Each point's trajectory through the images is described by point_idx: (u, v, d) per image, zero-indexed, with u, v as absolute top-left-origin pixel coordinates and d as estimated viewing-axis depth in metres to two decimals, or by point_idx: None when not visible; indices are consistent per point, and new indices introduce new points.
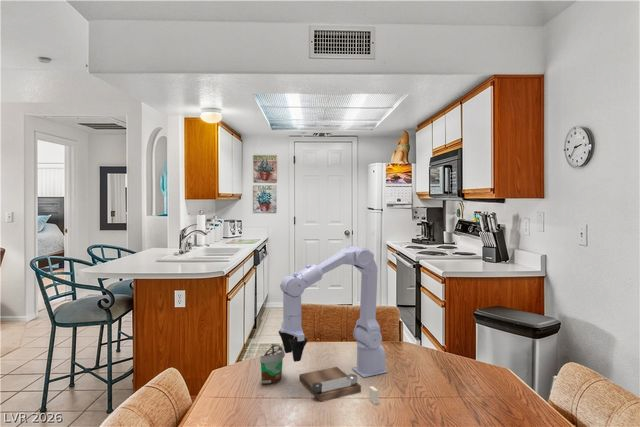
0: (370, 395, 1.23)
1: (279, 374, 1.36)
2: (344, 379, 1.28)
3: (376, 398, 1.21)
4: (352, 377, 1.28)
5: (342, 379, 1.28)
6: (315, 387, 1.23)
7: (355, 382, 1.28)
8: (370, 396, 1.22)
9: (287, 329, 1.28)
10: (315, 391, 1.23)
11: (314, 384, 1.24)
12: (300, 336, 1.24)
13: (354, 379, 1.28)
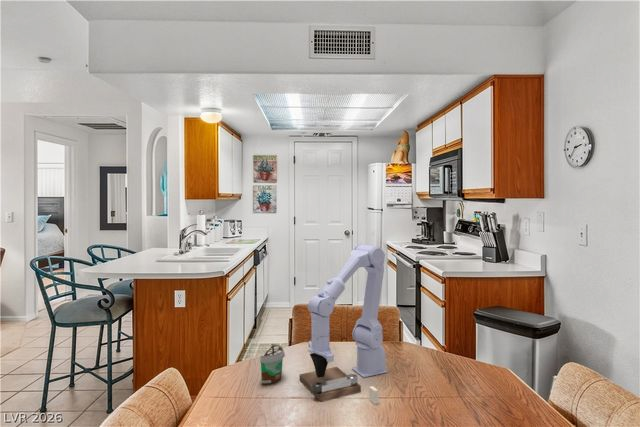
0: (370, 395, 1.23)
1: (279, 374, 1.36)
2: (344, 379, 1.28)
3: (376, 398, 1.21)
4: (352, 377, 1.28)
5: (342, 379, 1.28)
6: (315, 387, 1.23)
7: (355, 382, 1.28)
8: (370, 396, 1.22)
9: (316, 349, 1.28)
10: (315, 391, 1.23)
11: (314, 384, 1.24)
12: (330, 357, 1.24)
13: (354, 379, 1.28)
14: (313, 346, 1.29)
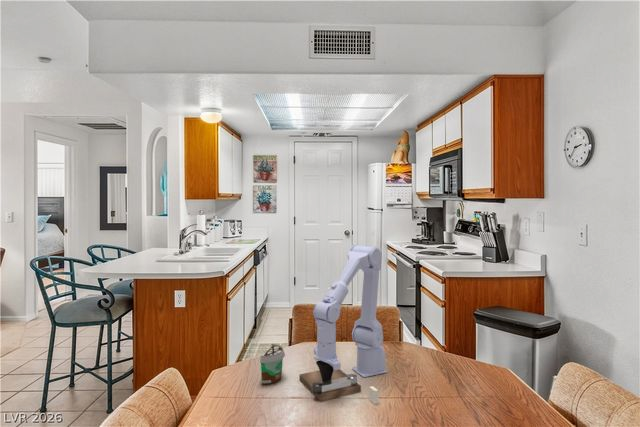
0: (370, 395, 1.23)
1: (279, 374, 1.36)
2: (344, 379, 1.28)
3: (376, 398, 1.21)
4: (352, 377, 1.28)
5: (342, 379, 1.28)
6: (315, 387, 1.23)
7: (355, 382, 1.28)
8: (370, 396, 1.22)
9: (322, 357, 1.25)
10: (315, 391, 1.23)
11: (314, 384, 1.24)
12: (336, 365, 1.20)
13: (354, 379, 1.28)
14: (319, 353, 1.25)
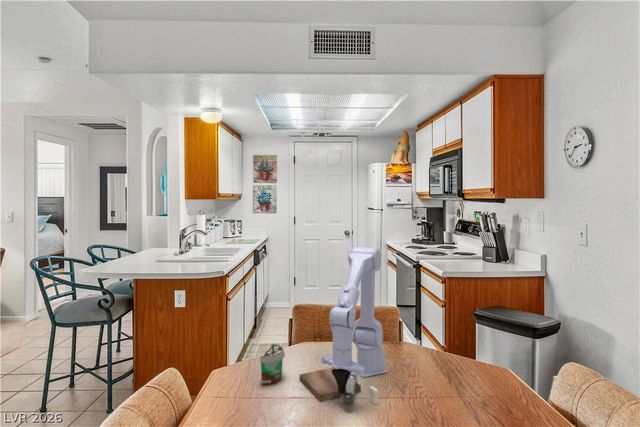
0: (370, 395, 1.23)
1: (279, 374, 1.36)
2: (352, 381, 1.26)
3: (376, 398, 1.21)
4: (354, 376, 1.29)
5: (350, 382, 1.26)
6: (351, 397, 1.16)
7: (356, 380, 1.29)
8: (370, 396, 1.22)
9: (342, 364, 1.19)
10: (351, 402, 1.16)
11: (345, 395, 1.17)
12: (362, 370, 1.17)
13: None
14: (338, 361, 1.19)
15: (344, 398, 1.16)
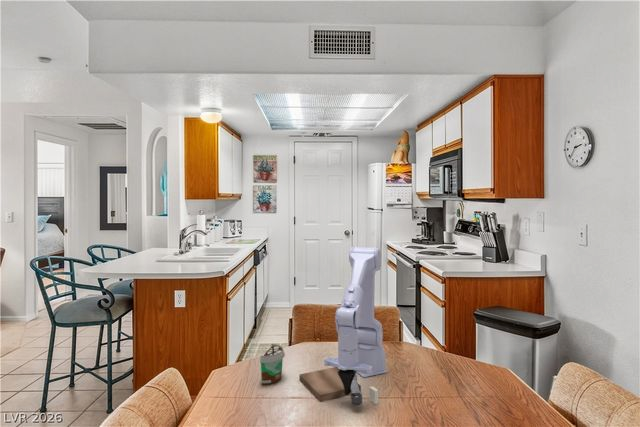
0: (370, 395, 1.23)
1: (279, 374, 1.36)
2: (354, 381, 1.26)
3: (376, 398, 1.21)
4: (354, 376, 1.29)
5: (353, 382, 1.26)
6: (360, 397, 1.16)
7: None
8: (370, 396, 1.22)
9: (349, 365, 1.18)
10: (361, 402, 1.16)
11: (354, 396, 1.17)
12: (370, 369, 1.18)
13: None
14: (346, 362, 1.18)
15: (354, 399, 1.16)
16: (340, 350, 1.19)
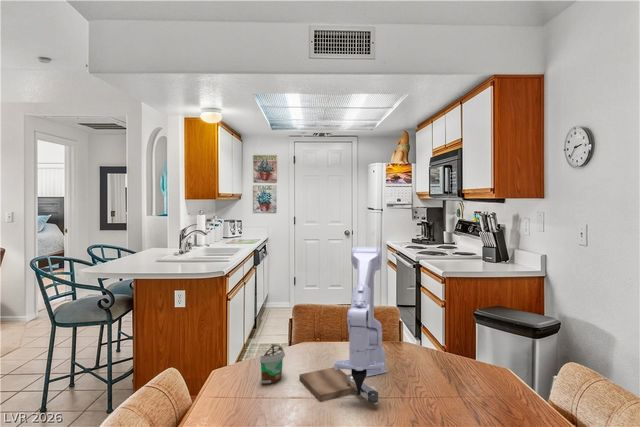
0: None
1: (279, 374, 1.36)
2: None
3: None
4: None
5: None
6: None
7: None
8: None
9: (364, 365, 1.18)
10: None
11: (372, 394, 1.18)
12: (384, 365, 1.20)
13: None
14: (361, 363, 1.18)
15: (372, 397, 1.17)
16: (355, 351, 1.18)
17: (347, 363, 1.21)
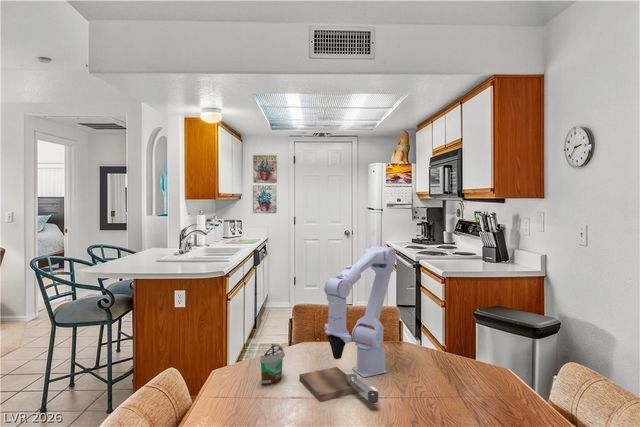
0: None
1: (279, 374, 1.36)
2: (357, 381, 1.27)
3: None
4: (354, 375, 1.29)
5: (357, 381, 1.26)
6: None
7: None
8: None
9: (333, 331, 1.29)
10: None
11: (372, 394, 1.18)
12: (347, 338, 1.24)
13: None
14: (330, 328, 1.29)
15: (372, 397, 1.17)
16: (328, 316, 1.31)
17: None
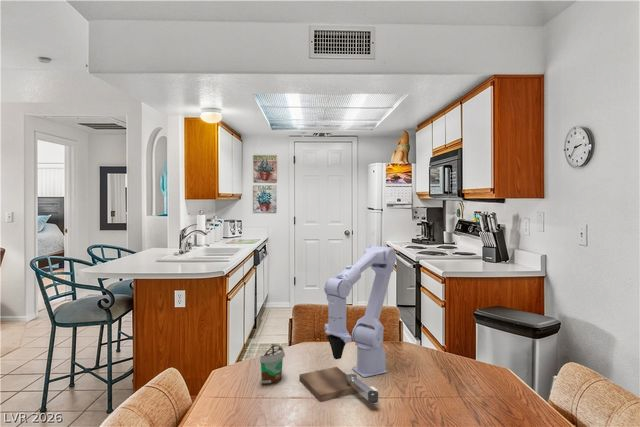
0: None
1: (279, 374, 1.36)
2: (357, 381, 1.27)
3: None
4: (354, 375, 1.29)
5: (357, 381, 1.26)
6: None
7: None
8: None
9: (333, 331, 1.29)
10: None
11: (372, 394, 1.18)
12: (347, 338, 1.24)
13: None
14: (330, 328, 1.29)
15: (372, 397, 1.17)
16: (328, 316, 1.31)
17: None
